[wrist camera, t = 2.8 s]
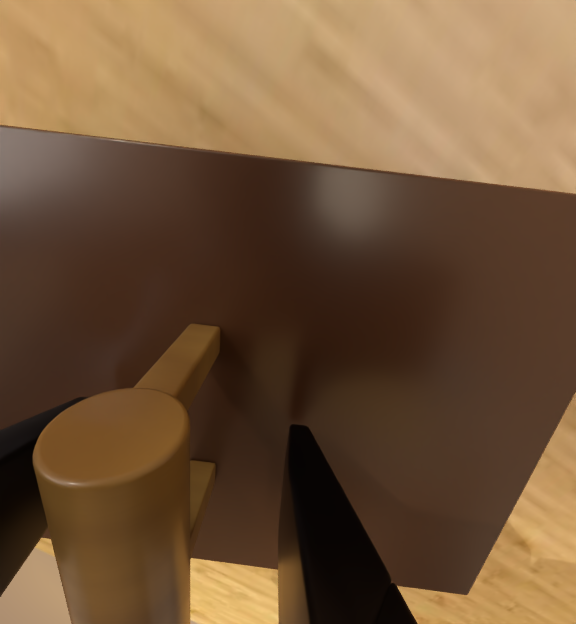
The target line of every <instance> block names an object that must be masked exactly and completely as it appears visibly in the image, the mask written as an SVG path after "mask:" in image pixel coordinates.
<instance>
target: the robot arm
mask: <svg viewBox="0 0 576 624" xmlns="http://www.w3.org/2000/svg"><path fill="white" fill-rule="evenodd" d="M86 398H89V397H78V398H76V399H73V400H71V401H69V402H66V403H64V404H61V405H59V406H57V407H54V408H52V409H50V410H47V411H45V412H42V413H40V414H38V415H35V416H33V417H30V418H28V419H26V420H23V421H21V422H19V423H16V424H14V425H11V426H9V427H7V428H4V429H2V430H0V597H1V595H2V594H3V592H4V591H5V589H6V588H7V586H8V585H9V584H10V582H11V581H12V579H13V578H14V576H15V574H16V573H17V572H18V571H19V569H20V568H21V566H22V565H23V563H24V562H25V560H26V559H27V557H28V556H29V555H30V553H31V552H32V550H33V549H34V547H35V546H36V544H37V543H38V542H39V540H40V539H41V537H42V536H43V534H44V533H45V531H46V530H47V529H48V524H47V520H46V516H45V512H44V508H43V503H42V499H41V495H40V491H39V487H38V483H37V479H36V475H35V470H34V466H33V457H32V456H33V451H34V448H35V445H36V443H37V440H38V438H39V436H40V434H41V433H42V431H43V430H44V428H45V427H46V426H47V425H48V424H49V423H50V422H51V421H52V420H53V419H54V418H55V417H56V416H57V415H59V414H60V413H61V412H63V411H64V410H66V409H67V408H69V407H70V406H72V405H74V404H76V403H78V402H80V401H82V400H84V399H86ZM391 581H392V578H391V575H390V574H389V572H388V570H387V568H386V566H385V565H384V563H383V561H382V559H381V557H380V556H379V554H378V552H377V550H376V548H375V546H374V545H373V543H372V541H371V539H370V537H369V536H368V534H367V532H366V530H365V528H364V527H363V525H362V523H361V521H360V519H359V517H358V516H357V514H356V512H355V510H354V508H353V507H352V505H351V503H350V501H349V499H348V498H347V496H346V494H345V492H344V490H343V488H342V487H341V485H340V483H339V481H338V479H337V478H336V476H335V474H334V472H333V470H332V469H331V467H330V465H329V463H328V461H327V460H326V458H325V456H324V454H323V452H322V450H321V449H320V447H319V445H318V443H317V441H316V440H315V438H314V436H313V434H312V432H311V431H310V429H309V427H308V426H306V425H298V424H291V425H290V427H289V434H288V440H287V447H286V455H285V464H284V474H283V484H282V495H281V505H280V515H279V528H278V599H279V624H417V622H416V620H415V618H414V617H413V615H412V613H411V611H410V610H409V608H408V606H407V604H406V602H405V601H404V599H403V597H402V595H401V593H400V591H399V590H398V588H397V586H396V584H395V583H391Z"/></svg>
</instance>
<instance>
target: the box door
mask: <svg viewBox="0 0 576 624" xmlns="http://www.w3.org/2000/svg"><path fill="white" fill-rule="evenodd" d="M575 392H576V194H573V193H564V192H556V191H548V190H539V189H531V188H523V187H514V186H506V185H498V184H489V183H481V182H473V181H464V180H456V179H448V178H439V177H431V176H423V175H414V174H406V173H398V172H389V171H381V170H373V169H364V168H356V167H348V166H339V165H331V164H323V163H314V162H306V161H298V160H289V159H281V158H272V157H264V156H256V155H247V154H239V153H231V152H222V151H214V150H206V149H197V148H189V147H181V146H172V145H164V144H156V143H147V142H139V141H131V140H122V139H114V138H106V137H97V136H89V135H81V134H72V133H64V132H56V131H47V130H39V129H31V128H22V127H14V126H6V125H0V430H2V429H4V428H7V427H9V426H11V425H14V424H16V423H19V422H21V421H23V420H26V419H28V418H30V417H33V416H35V415H38V414H40V413H42V412H45V411H47V410H50V409H52V408H54V407H57V406H59V405H61V404H64V403H66V402H69V401H71V400H73V399H76V398H78V397H89V398H86V399H84V400H82V401H80V402H78V403H76V404H74V405H72V406H70V407H69V408H67V409H66V410H64V411H63V412H61V413H60V414H59V415H57V416H56V417H55V418H54V419H53V420H52V421H51V422H50V423H49V424H48V425H47V426H46V427H45V428H44V430H43V431H42V433H41V434H40V436H39V438H38V440H37V443H36V445H35V448H34V451H33V456H32V457H33V466H34V470H35V475H36V479H37V483H38V487H39V491H40V495H41V499H42V503H43V508H44V512H45V516H46V520H47V524H48V529H47V530H46V531H45V533H44V534H43V536H42V537H41V538H49V539H51V541H52V545H53V549H54V553H55V557H56V561H57V565H58V569H59V574H60V577H61V582H62V586H63V590H64V594H65V598H66V602H67V607H68V611H69V615H70V619H71V623H72V624H190V559H191V558H196V559H204V560H211V561H219V562H226V563H233V564H241V565H248V566H255V567H263V568H270V569H278V528H279V515H280V505H281V495H282V484H283V474H284V464H285V455H286V447H287V440H288V434H289V427H290V425H291V424H298V425H306V426H308V427H309V429H310V431H311V432H312V434H313V436H314V438H315V440H316V441H317V443H318V445H319V447H320V449H321V450H322V452H323V454H324V456H325V458H326V460H327V461H328V463H329V465H330V467H331V469H332V470H333V472H334V474H335V476H336V478H337V479H338V481H339V483H340V485H341V487H342V488H343V490H344V492H345V494H346V496H347V498H348V499H349V501H350V503H351V505H352V507H353V508H354V510H355V512H356V514H357V516H358V517H359V519H360V521H361V523H362V525H363V527H364V528H365V530H366V532H367V534H368V536H369V537H370V539H371V541H372V543H373V545H374V546H375V548H376V550H377V552H378V554H379V556H380V557H381V559H382V561H383V563H384V565H385V566H386V568H387V570H388V572H389V574H390V575H391V578H392V581H391V583H395V584H396V586H403V587H410V588H418V589H425V590H433V591H440V592H447V593H455V594H462V595H468V593H469V591H470V589H471V587H472V585H473V584H474V582H475V580H476V578H477V576H478V574H479V572H480V570H481V569H482V567H483V565H484V563H485V561H486V559H487V557H488V555H489V554H490V552H491V550H492V548H493V546H494V544H495V542H496V540H497V538H498V537H499V535H500V533H501V531H502V529H503V527H504V525H505V523H506V522H507V520H508V518H509V516H510V514H511V512H512V510H513V508H514V507H515V505H516V503H517V501H518V499H519V497H520V495H521V493H522V491H523V490H524V488H525V486H526V484H527V482H528V480H529V478H530V476H531V475H532V473H533V471H534V469H535V467H536V465H537V463H538V461H539V460H540V458H541V456H542V454H543V452H544V450H545V448H546V446H547V444H548V443H549V441H550V439H551V437H552V435H553V433H554V431H555V429H556V428H557V426H558V424H559V422H560V420H561V418H562V416H563V414H564V413H565V411H566V409H567V407H568V405H569V403H570V401H571V399H572V398H573V396H574V394H575Z"/></svg>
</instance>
